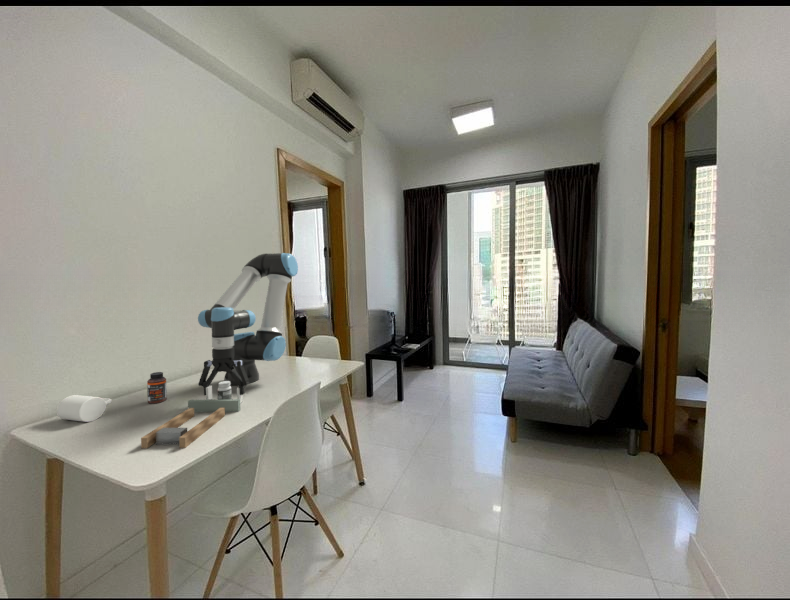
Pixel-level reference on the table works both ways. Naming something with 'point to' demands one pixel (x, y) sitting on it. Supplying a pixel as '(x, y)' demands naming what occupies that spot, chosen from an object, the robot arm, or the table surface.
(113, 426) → the table surface
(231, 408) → the door edge rail
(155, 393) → the supplement bottle
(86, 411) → the mug
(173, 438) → the tall gray brick
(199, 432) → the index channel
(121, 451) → the table surface
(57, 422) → the table surface
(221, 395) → the pill bottle
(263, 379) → the table surface
